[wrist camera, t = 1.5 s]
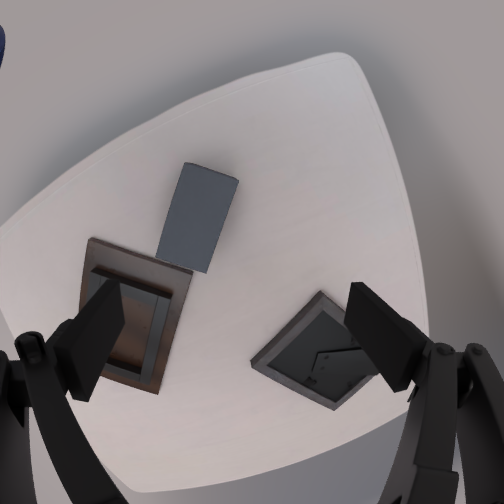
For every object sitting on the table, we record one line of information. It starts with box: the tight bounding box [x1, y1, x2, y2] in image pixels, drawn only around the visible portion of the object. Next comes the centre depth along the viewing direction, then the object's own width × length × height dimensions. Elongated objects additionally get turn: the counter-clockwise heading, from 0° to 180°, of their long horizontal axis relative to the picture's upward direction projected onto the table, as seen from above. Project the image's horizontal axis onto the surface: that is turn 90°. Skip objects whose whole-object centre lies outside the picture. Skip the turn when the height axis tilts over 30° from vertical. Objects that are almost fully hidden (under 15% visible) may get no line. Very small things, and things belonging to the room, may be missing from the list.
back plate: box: [79, 238, 193, 395], centre depth 33 cm, size 20×13×2 cm, turn 159°
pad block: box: [155, 162, 239, 273], centre depth 28 cm, size 9×5×6 cm, turn 160°
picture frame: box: [250, 291, 380, 411], centre depth 38 cm, size 13×2×18 cm
